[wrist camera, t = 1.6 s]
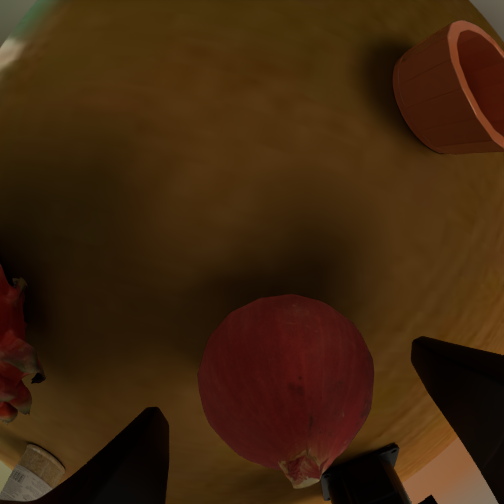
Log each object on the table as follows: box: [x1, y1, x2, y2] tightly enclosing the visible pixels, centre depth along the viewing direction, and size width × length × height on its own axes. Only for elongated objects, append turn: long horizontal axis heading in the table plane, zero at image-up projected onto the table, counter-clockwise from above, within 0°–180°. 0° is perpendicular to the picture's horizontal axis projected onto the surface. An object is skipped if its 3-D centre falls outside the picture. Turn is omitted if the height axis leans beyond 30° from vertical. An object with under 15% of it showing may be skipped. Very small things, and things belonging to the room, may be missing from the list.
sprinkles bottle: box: [0, 444, 65, 501], centre depth 8 cm, size 5×5×13 cm
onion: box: [197, 294, 374, 488], centre depth 8 cm, size 6×6×8 cm
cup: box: [392, 20, 504, 154], centre depth 8 cm, size 6×6×4 cm
